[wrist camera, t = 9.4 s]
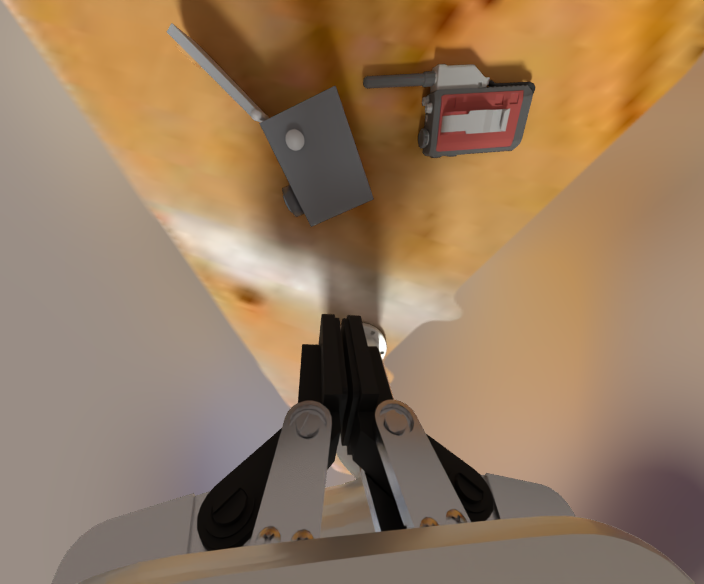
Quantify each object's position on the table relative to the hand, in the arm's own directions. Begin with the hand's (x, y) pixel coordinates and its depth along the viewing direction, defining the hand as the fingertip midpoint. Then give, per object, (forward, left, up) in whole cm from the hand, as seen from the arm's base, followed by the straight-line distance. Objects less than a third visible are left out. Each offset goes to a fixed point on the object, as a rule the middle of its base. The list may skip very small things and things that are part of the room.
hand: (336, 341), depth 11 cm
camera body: (+5, -2, -27) cm, 28 cm away
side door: (+15, +4, -27) cm, 31 cm away
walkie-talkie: (+4, -18, -28) cm, 33 cm away
